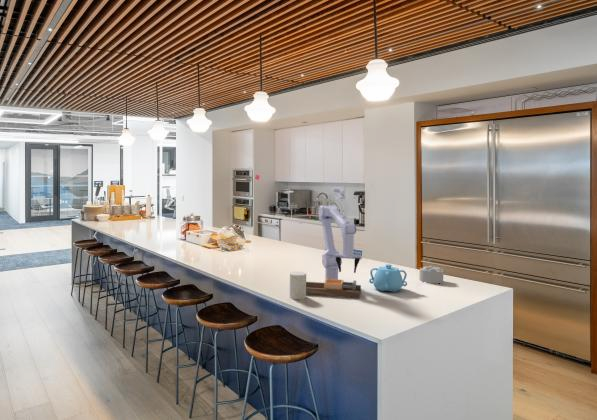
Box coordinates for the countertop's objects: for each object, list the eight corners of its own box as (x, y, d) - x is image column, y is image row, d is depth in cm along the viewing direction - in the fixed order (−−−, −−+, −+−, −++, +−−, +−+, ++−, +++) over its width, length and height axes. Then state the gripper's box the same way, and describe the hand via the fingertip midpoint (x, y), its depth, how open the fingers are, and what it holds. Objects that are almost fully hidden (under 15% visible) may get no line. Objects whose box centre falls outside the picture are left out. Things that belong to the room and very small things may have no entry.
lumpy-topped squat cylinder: (443, 284, 239) (444, 269, 239) (419, 283, 242) (420, 268, 242) (441, 280, 249) (442, 265, 249) (419, 278, 252) (419, 264, 252)
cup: (291, 300, 205) (292, 275, 204) (287, 295, 213) (288, 271, 212) (307, 298, 208) (308, 274, 207) (303, 294, 215) (303, 271, 214)
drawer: (326, 287, 224) (326, 278, 224) (356, 290, 221) (356, 280, 221) (323, 292, 215) (324, 282, 215) (354, 294, 212) (355, 284, 212)
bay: (297, 287, 229) (297, 274, 229) (360, 291, 223) (361, 278, 222) (292, 293, 217) (292, 280, 216) (359, 298, 210) (359, 284, 209)
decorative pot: (391, 284, 238) (392, 260, 237) (409, 292, 223) (410, 266, 222) (366, 287, 231) (367, 262, 230) (383, 295, 217) (384, 268, 216)
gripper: (333, 246, 217) (332, 273, 218) (361, 248, 214) (361, 274, 215) (334, 244, 224) (334, 270, 225) (362, 246, 221) (361, 271, 222)
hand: (347, 272), depth 221 cm, fingers open, 7 cm apart
